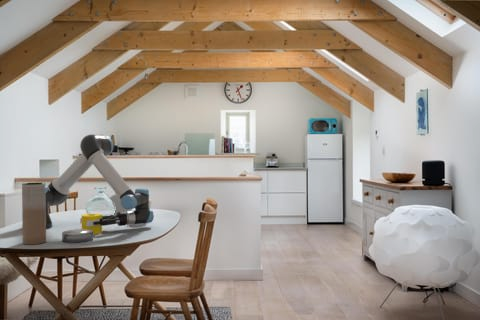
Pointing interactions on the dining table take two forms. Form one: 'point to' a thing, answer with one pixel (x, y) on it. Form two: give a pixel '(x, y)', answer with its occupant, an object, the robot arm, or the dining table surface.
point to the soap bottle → (118, 204)
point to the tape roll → (95, 229)
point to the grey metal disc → (77, 236)
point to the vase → (33, 213)
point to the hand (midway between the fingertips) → (83, 222)
